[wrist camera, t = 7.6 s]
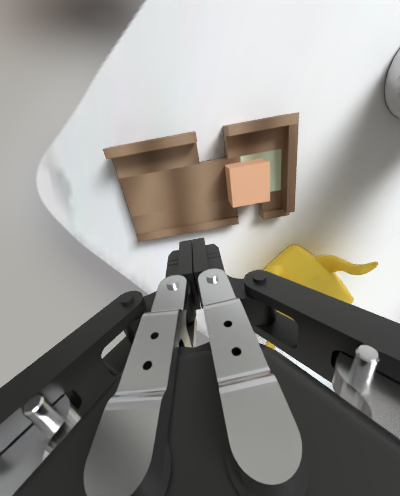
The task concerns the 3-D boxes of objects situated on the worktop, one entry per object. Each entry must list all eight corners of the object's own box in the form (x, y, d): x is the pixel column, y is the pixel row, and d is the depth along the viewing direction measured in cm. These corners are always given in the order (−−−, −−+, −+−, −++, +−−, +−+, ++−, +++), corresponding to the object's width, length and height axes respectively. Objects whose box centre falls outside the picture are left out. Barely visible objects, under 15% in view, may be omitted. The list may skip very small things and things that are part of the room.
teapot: (248, 313, 41) (265, 361, 33) (242, 249, 35) (262, 288, 26) (326, 299, 41) (363, 344, 33) (335, 231, 34) (385, 265, 26)
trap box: (285, 114, 26) (298, 112, 23) (283, 210, 32) (294, 218, 29) (112, 146, 27) (102, 149, 23) (141, 235, 32) (136, 246, 29)
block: (261, 158, 27) (269, 161, 24) (262, 194, 29) (269, 201, 26) (224, 164, 27) (229, 168, 24) (228, 200, 29) (233, 207, 26)
